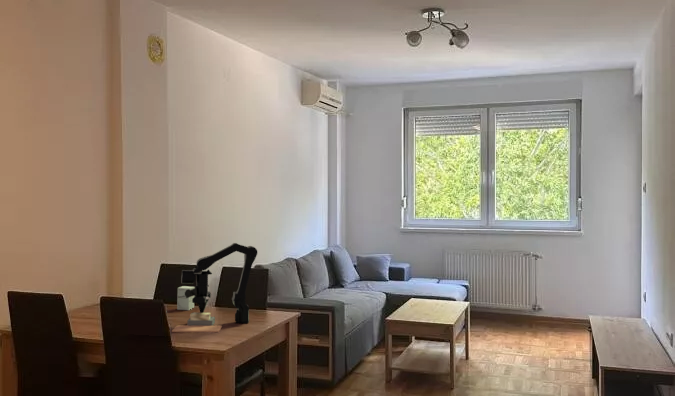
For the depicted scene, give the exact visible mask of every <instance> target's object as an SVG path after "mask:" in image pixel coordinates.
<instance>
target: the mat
mask: <svg viewBox="0 0 675 396" xmlns="http://www.w3.org/2000/svg"><path fill="white" fill-rule="evenodd" d="M222 327H223V325H213V326H212V325H187V324H186V325H182V324H180V325H176V326H175V327H174V328H173V329H172V330H171V332H172V333H219V332H220V331H221V329H222Z"/></svg>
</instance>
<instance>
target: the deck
mask: <svg viewBox="0 0 675 396" xmlns="http://www.w3.org/2000/svg"><path fill="white" fill-rule="evenodd" d="M215 323H216V317H215V316H210V320H209V321H204V320H190V317H189V318H188V320H187V324H186V325H212V326H214V324H215Z"/></svg>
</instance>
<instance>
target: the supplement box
mask: <svg viewBox="0 0 675 396" xmlns="http://www.w3.org/2000/svg"><path fill="white" fill-rule="evenodd" d="M194 288H195V286H187V285H182V286H179V287H177V300H176V302H177V303H176V304H177V306H176V307H177V309H176V310H180V311H191V310H193V309H192V308H194V309H195V303H192V299H193V298H194V297H195V295H193V296H190V297H189V298H186V296H185V292H186V290H188V289H190V290H191V289H194ZM190 309H191V310H190Z"/></svg>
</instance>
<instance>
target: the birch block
mask: <svg viewBox="0 0 675 396" xmlns="http://www.w3.org/2000/svg"><path fill="white" fill-rule="evenodd" d="M210 317H211V312H204V313H200V312H195V311H194V312H192V313H190V316H189V318H190V320H204V321H209V320H210Z"/></svg>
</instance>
